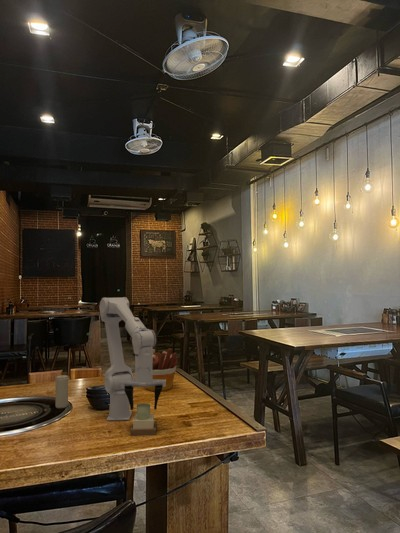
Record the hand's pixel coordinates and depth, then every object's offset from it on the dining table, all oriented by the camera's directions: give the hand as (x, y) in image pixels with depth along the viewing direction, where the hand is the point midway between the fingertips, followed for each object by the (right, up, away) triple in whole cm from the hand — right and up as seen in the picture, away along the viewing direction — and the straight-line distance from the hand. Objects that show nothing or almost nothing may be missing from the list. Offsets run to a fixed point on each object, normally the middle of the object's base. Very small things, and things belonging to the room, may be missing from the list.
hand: (143, 408), depth 130 cm
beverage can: (-37, -9, +27) cm, 47 cm away
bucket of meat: (0, -11, +55) cm, 56 cm away
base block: (0, -8, 0) cm, 8 cm away
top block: (0, -5, 0) cm, 5 cm away
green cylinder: (0, -3, 0) cm, 3 cm away
